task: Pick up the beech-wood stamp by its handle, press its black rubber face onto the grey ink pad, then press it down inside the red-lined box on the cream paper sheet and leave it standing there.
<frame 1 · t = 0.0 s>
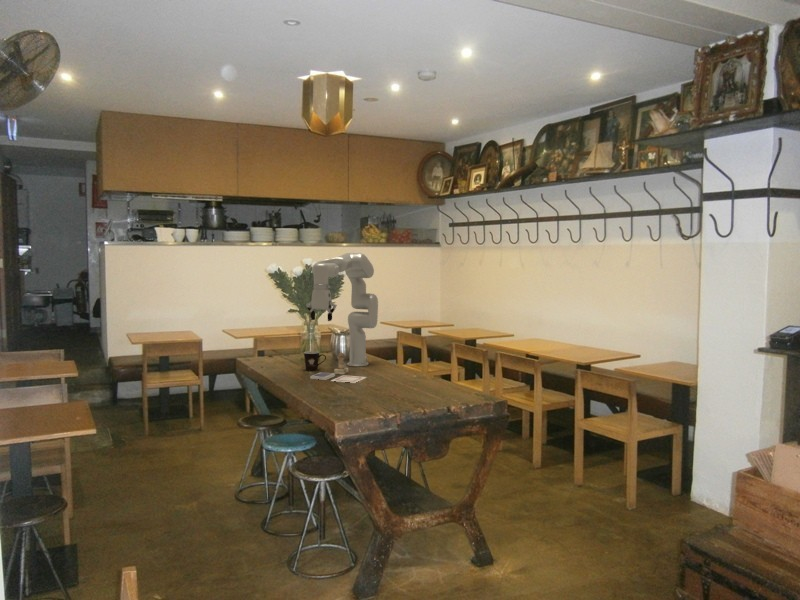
hand: (321, 320, 323), 31 cm above the table, tool pointing down, fingers open, 9 cm apart
ink pad: (322, 377, 330), on the table
paper sheet: (348, 379, 326), on the table
stamp: (341, 374, 340), on the table
coffee mug: (314, 370, 350), on the table
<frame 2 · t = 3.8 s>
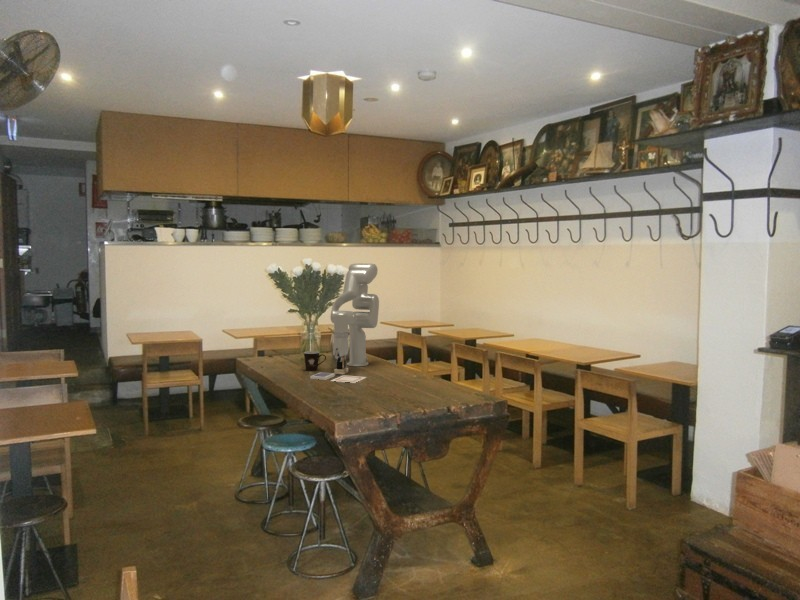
hand: (341, 368, 340), 3 cm above the table, tool pointing down, fingers closed on stamp, 3 cm apart
stamp: (341, 374, 340), on the table, touching gripper
everything else where it was.
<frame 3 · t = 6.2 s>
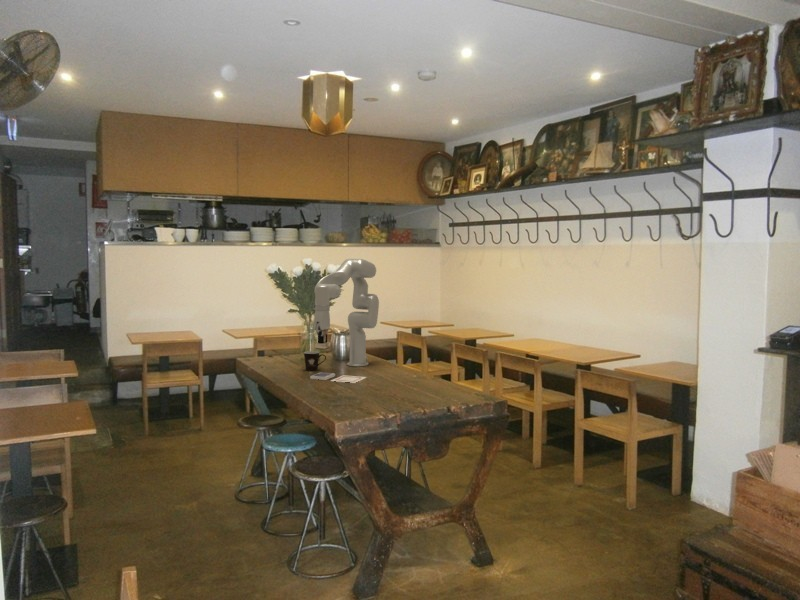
hand: (322, 342, 329), 19 cm above the table, tool pointing down, fingers closed on stamp, 3 cm apart
stamp: (322, 348, 329), point 16 cm above the table, touching gripper
everything else where it was.
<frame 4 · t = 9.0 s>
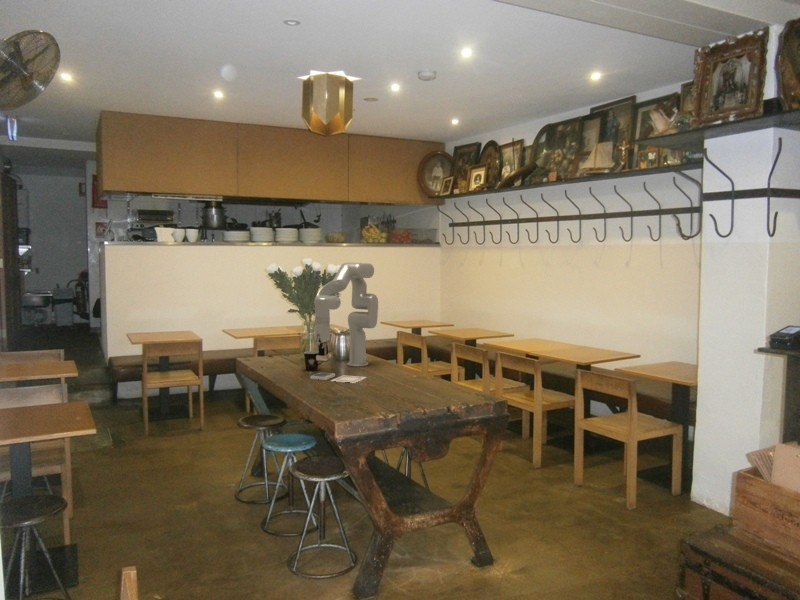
hand: (323, 354, 330), 12 cm above the table, tool pointing down, fingers closed on stamp, 3 cm apart
stamp: (323, 360, 330), point 9 cm above the table, touching gripper
everything else where it was.
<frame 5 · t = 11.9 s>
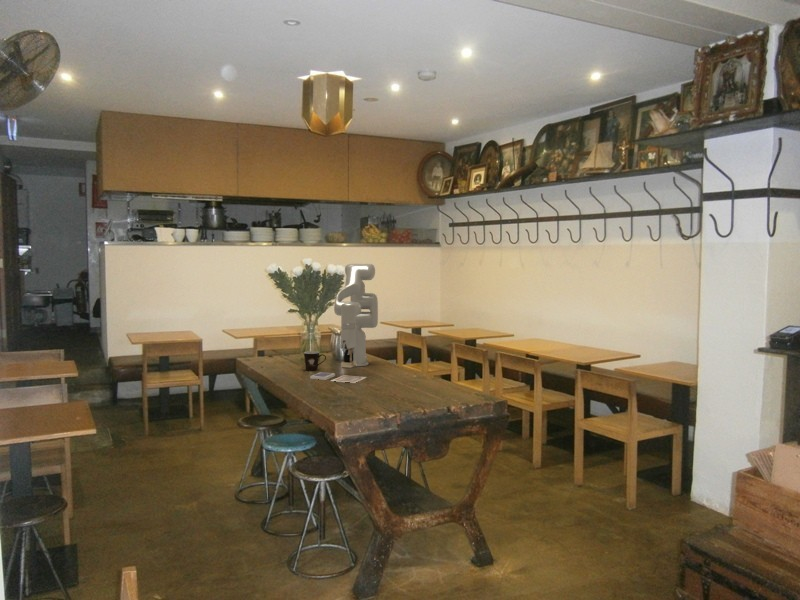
hand: (348, 361, 325), 10 cm above the table, tool pointing down, fingers closed on stamp, 3 cm apart
stamp: (348, 367, 325), point 6 cm above the table, touching gripper
everything else where it was.
when the fingers open (4 cm above the table, at t = 14.3 s): stamp stays where it is, resting on paper sheet.
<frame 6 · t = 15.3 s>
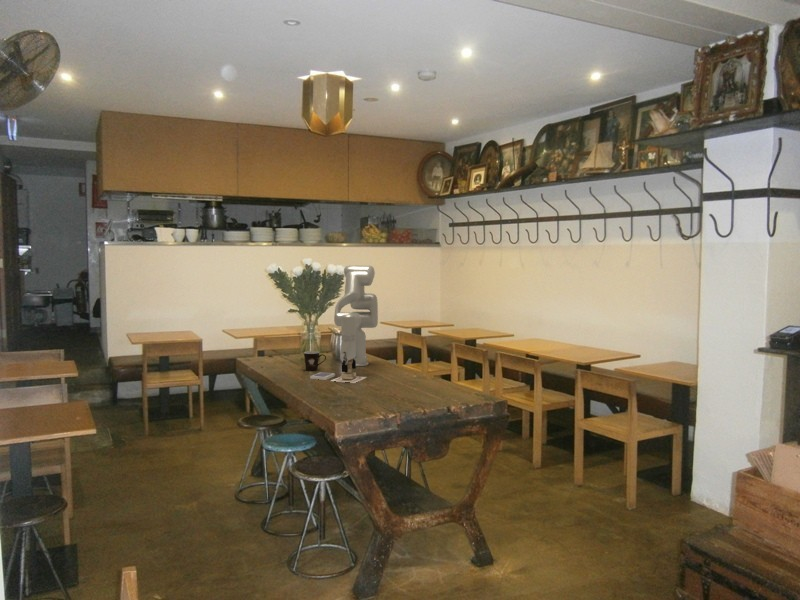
hand: (348, 370, 325), 5 cm above the table, tool pointing down, fingers open, 9 cm apart
stamp: (348, 378, 325), resting on paper sheet
everything else where it was.
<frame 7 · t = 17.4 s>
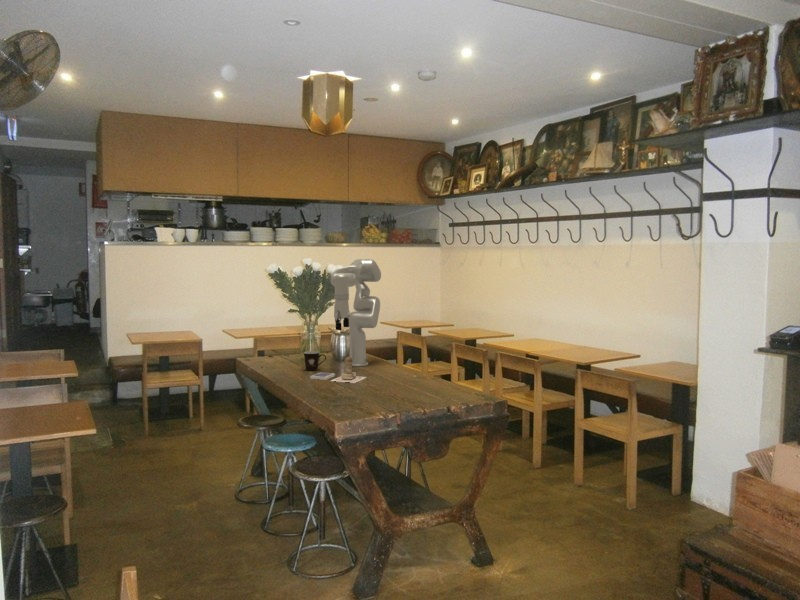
hand: (342, 328, 337), 25 cm above the table, tool pointing down, fingers open, 9 cm apart
nothing on the table moved.
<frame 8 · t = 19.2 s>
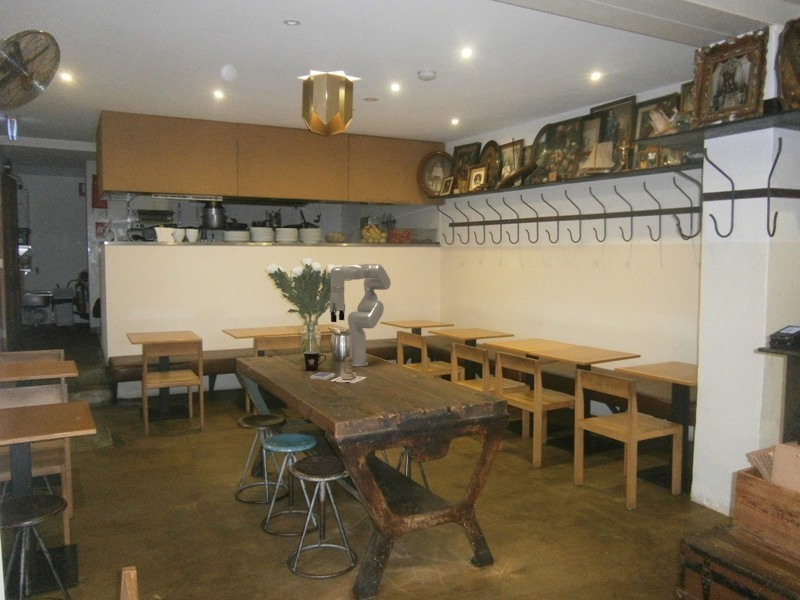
hand: (337, 321, 345), 28 cm above the table, tool pointing down, fingers open, 9 cm apart
nothing on the table moved.
at the end: stamp inside the target area on the paper sheet (0.0 cm from its centre), point 0.3 cm above the paper sheet's base; stamp tilted 0°; the gripper is holding nothing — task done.
